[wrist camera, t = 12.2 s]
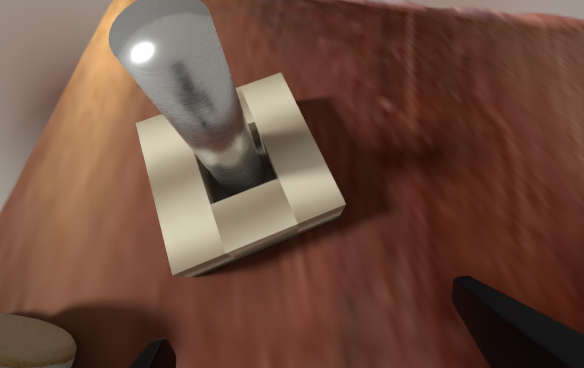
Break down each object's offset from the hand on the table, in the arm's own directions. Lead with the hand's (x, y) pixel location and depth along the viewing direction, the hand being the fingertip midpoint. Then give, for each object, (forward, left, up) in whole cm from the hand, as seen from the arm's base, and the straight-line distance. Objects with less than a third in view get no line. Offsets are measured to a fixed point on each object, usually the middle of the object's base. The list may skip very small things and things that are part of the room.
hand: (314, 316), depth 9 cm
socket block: (+11, +1, -13) cm, 17 cm away
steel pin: (+11, +1, -12) cm, 16 cm away
